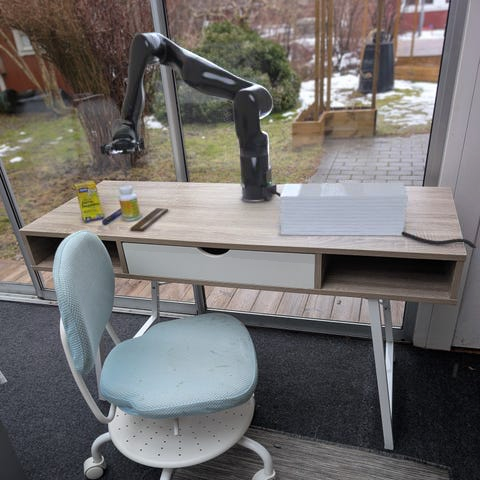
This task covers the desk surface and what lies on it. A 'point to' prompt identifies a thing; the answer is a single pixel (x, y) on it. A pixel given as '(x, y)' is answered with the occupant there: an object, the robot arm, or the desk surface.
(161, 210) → the dark brown flat bar
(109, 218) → the pen
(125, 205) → the supplement bottle
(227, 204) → the desk surface
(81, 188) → the supplement box
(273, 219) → the desk surface
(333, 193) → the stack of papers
